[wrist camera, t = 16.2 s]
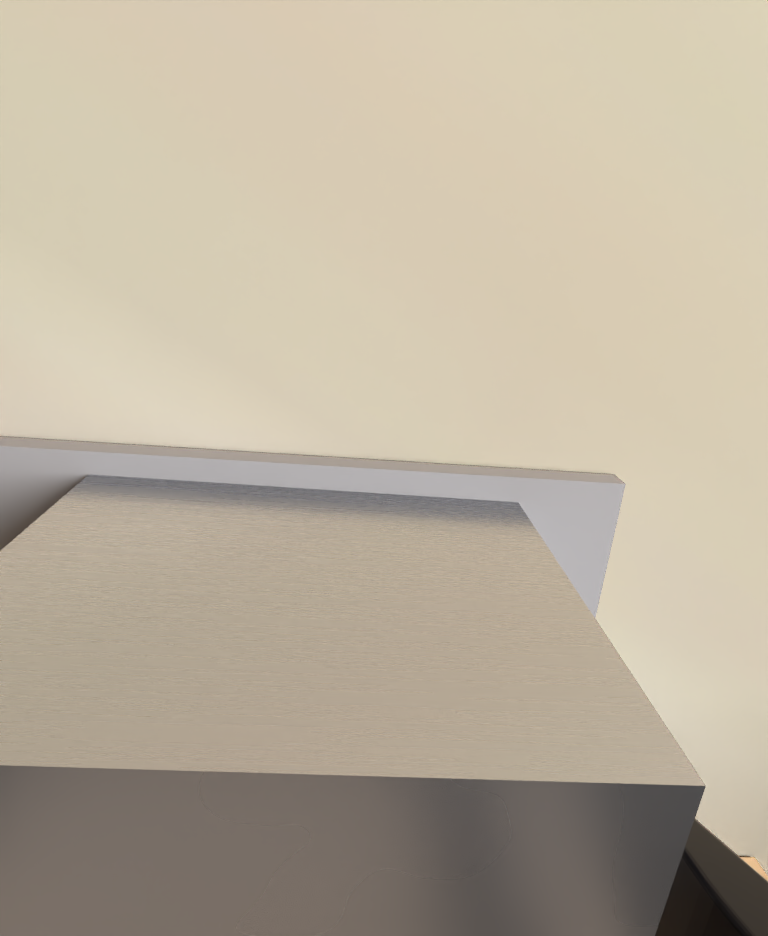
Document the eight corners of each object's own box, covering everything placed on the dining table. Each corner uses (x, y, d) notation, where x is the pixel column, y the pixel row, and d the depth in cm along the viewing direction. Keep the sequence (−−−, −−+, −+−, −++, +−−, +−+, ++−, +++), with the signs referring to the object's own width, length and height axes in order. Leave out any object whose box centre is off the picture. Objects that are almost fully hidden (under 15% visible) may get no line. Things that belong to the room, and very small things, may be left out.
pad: (533, 844, 12) (539, 864, 11) (42, 836, 11) (31, 857, 11) (614, 474, 9) (625, 483, 9) (-12, 435, 9) (-29, 443, 8)
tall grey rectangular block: (518, 502, 9) (705, 784, 4) (456, 858, 11) (532, 1298, 7) (88, 474, 8) (-240, 758, 4) (115, 852, 11) (-68, 1320, 6)
